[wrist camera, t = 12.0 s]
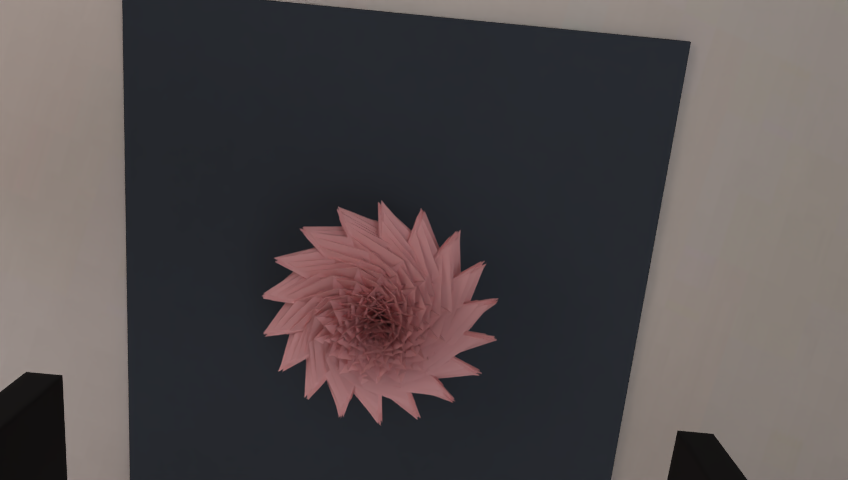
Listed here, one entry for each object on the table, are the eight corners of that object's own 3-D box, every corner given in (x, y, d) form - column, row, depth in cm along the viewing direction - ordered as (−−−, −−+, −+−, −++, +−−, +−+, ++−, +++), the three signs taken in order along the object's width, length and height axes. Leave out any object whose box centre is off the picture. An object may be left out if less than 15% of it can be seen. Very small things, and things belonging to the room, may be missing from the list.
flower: (521, 225, 26) (546, 269, 21) (443, 405, 28) (447, 488, 22) (322, 150, 25) (294, 174, 20) (256, 339, 27) (215, 408, 22)
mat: (688, 41, 25) (691, 41, 24) (600, 523, 30) (602, 528, 29) (125, -14, 24) (121, -14, 24) (132, 485, 29) (129, 489, 29)
